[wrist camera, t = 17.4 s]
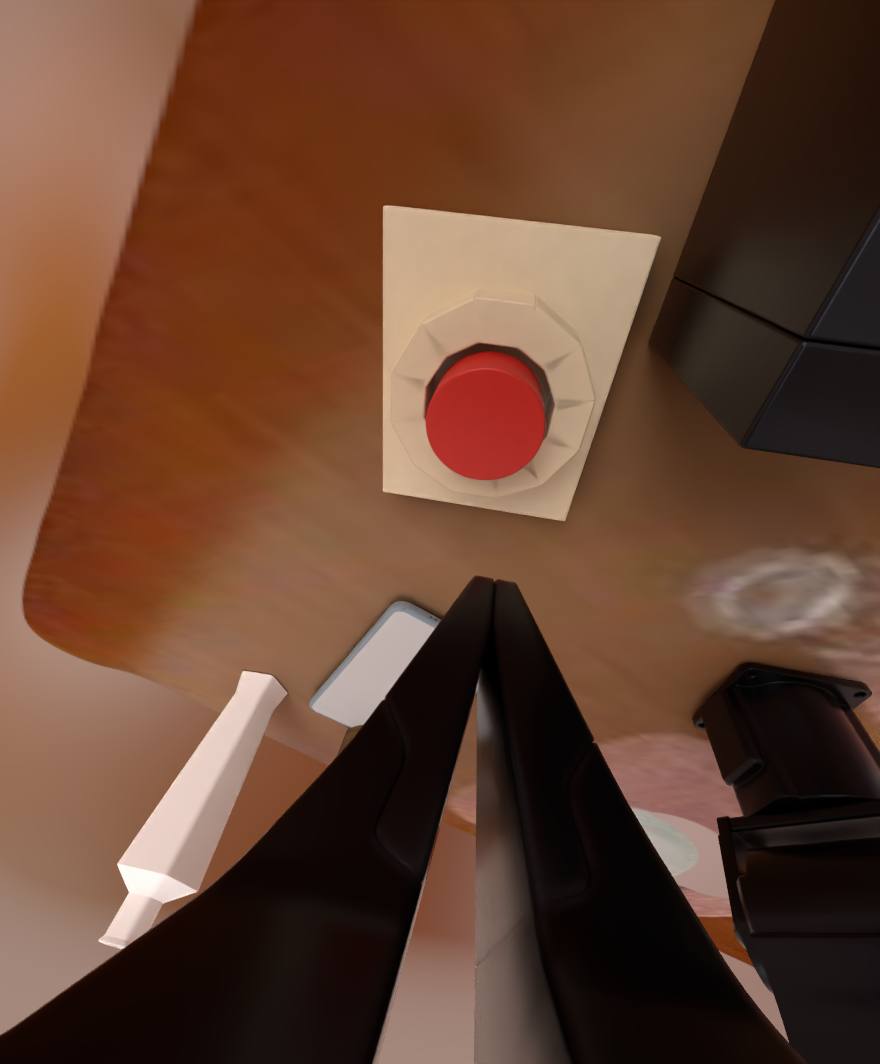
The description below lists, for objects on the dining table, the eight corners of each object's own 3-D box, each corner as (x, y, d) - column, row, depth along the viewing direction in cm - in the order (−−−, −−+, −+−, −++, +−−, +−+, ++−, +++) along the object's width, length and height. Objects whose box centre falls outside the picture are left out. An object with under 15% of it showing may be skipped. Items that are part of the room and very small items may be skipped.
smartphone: (515, 667, 25) (399, 751, 34) (515, 654, 26) (401, 739, 34) (395, 603, 23) (304, 708, 32) (399, 590, 24) (309, 697, 33)
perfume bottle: (243, 696, 35) (100, 945, 23) (228, 665, 32) (57, 929, 20) (296, 706, 34) (176, 964, 23) (285, 675, 32) (143, 950, 20)
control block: (392, 205, 13) (363, 205, 11) (652, 234, 13) (680, 240, 10) (389, 478, 19) (370, 515, 17) (563, 506, 19) (568, 548, 16)
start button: (439, 343, 13) (429, 359, 12) (556, 358, 13) (559, 377, 11) (431, 448, 15) (421, 471, 14) (530, 463, 15) (530, 489, 14)
